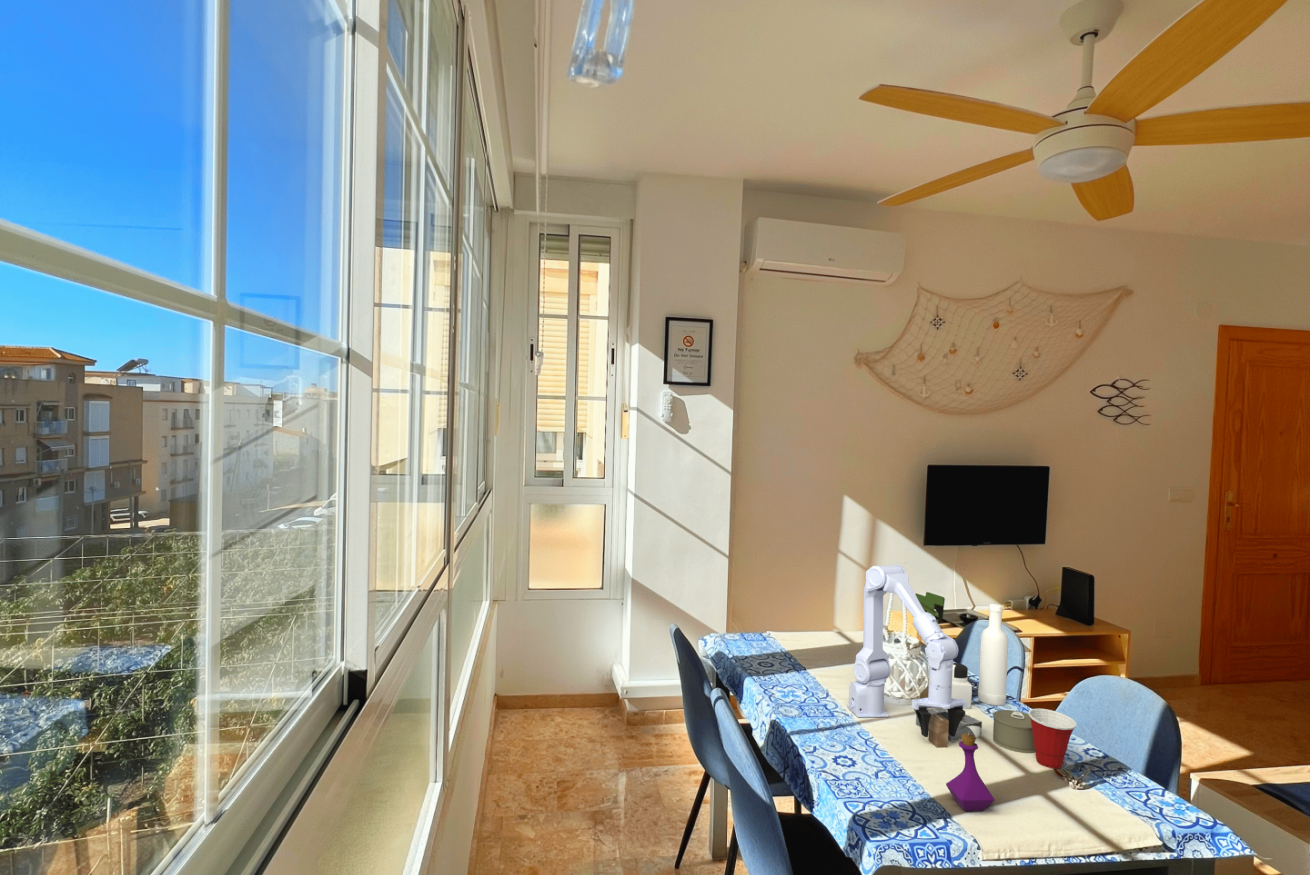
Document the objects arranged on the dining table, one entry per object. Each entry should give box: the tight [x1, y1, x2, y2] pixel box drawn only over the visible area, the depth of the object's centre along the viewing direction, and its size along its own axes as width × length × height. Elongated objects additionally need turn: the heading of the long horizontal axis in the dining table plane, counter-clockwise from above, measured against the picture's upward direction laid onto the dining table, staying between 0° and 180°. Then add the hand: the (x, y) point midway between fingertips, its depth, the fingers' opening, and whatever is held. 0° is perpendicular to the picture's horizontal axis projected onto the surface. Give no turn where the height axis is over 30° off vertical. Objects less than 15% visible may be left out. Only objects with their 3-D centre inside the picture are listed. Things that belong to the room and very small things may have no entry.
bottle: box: [977, 603, 1009, 707], centre depth 231 cm, size 8×8×30 cm
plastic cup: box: [1028, 708, 1077, 769], centre depth 187 cm, size 11×11×12 cm
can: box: [992, 709, 1035, 754], centre depth 199 cm, size 12×12×7 cm
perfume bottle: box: [945, 726, 996, 812], centre depth 164 cm, size 8×8×18 cm
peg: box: [927, 714, 949, 749], centre depth 197 cm, size 3×4×7 cm, turn 8°
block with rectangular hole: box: [915, 708, 983, 742], centre depth 207 cm, size 12×12×4 cm
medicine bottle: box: [951, 662, 973, 709], centre depth 228 cm, size 7×7×12 cm
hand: (938, 735), depth 197 cm, fingers open, 7 cm apart
